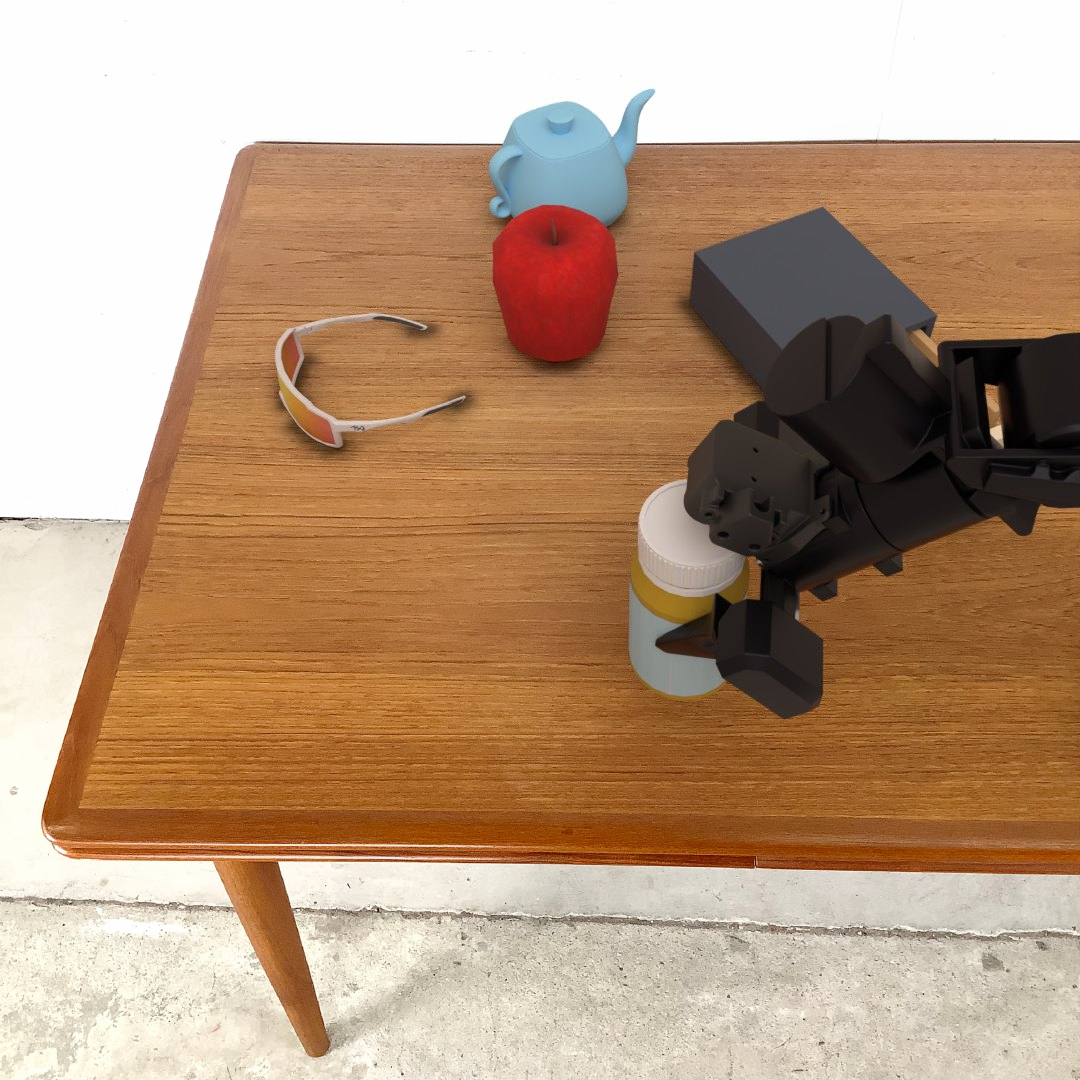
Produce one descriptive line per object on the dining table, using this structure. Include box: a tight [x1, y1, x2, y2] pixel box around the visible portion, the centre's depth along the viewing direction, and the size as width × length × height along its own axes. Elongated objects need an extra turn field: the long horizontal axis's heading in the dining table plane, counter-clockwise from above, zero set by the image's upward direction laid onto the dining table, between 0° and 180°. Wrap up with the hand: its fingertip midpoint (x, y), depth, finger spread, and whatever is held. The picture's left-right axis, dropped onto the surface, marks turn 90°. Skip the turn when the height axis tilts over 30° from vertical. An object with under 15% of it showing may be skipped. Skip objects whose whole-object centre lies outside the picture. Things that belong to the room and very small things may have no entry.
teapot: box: [488, 88, 656, 228], centre depth 109 cm, size 13×11×18 cm
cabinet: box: [688, 206, 938, 392], centre depth 99 cm, size 17×14×6 cm
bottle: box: [628, 478, 751, 702], centre depth 68 cm, size 7×7×15 cm
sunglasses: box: [274, 312, 467, 449], centre depth 98 cm, size 14×15×5 cm
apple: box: [491, 205, 619, 363], centre depth 96 cm, size 11×10×14 cm
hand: (665, 597), depth 69 cm, fingers closed on bottle, 7 cm apart
